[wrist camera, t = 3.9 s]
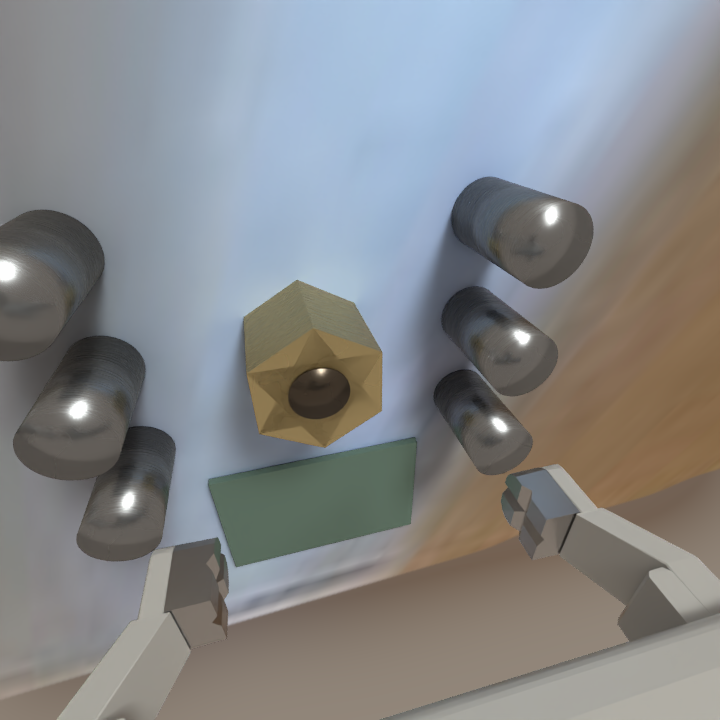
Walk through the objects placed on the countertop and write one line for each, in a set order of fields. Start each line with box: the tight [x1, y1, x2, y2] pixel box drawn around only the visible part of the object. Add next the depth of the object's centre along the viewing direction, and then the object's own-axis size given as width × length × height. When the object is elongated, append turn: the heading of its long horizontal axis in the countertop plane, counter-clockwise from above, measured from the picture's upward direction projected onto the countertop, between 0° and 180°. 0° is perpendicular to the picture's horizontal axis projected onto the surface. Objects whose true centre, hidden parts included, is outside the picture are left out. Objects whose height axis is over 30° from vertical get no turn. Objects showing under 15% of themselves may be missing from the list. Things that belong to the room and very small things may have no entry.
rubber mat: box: [209, 437, 417, 567], centre depth 26 cm, size 12×8×1 cm, turn 92°
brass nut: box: [244, 280, 382, 448], centre depth 18 cm, size 5×6×5 cm
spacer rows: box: [0, 177, 593, 561], centre depth 17 cm, size 20×13×5 cm, turn 92°
